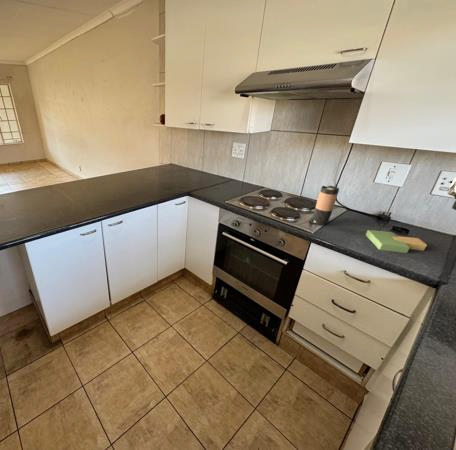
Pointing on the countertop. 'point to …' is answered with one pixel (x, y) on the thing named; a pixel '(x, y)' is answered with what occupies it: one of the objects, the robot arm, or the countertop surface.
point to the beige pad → (412, 242)
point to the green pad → (387, 241)
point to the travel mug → (325, 204)
